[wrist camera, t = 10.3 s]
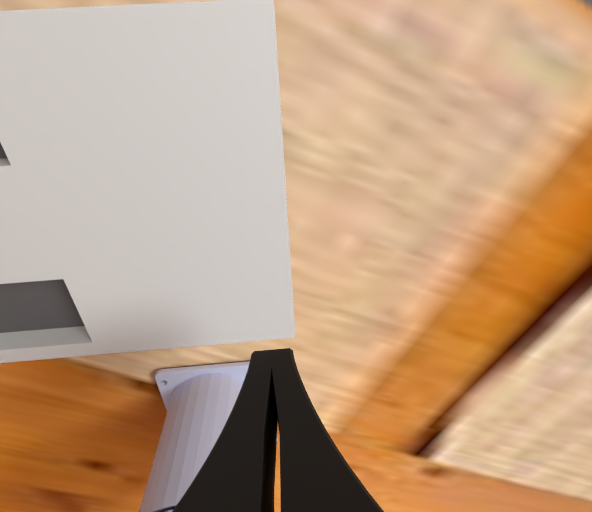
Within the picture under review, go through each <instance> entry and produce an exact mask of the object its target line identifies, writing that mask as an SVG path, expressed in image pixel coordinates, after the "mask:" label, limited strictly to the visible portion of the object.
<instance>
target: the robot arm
mask: <svg viewBox="0 0 592 512" xmlns="http://www.w3.org/2000/svg"><path fill="white" fill-rule="evenodd" d="M155 380H156V383H157V386H158V388H159V391H160V394H161V397H162V399H163V402H164V405H165V408H166V410H167V414H166V418H165V421H164V425H163V428H162V432H161V435H160V439H159V443H158V446H157V450H156V453H155V457H154V460H153V464H152V467H151V471H150V474H149V478H148V481H147V485H146V489H145V492H144V496H143V499H142V503H141V506H140V510H139V512H274V482H275V463H276V444H277V440H278V438H277V424H278V425H279V433H280V478H281V512H384V511H383V510H382V509H381V507H380V506H379V505H378V504H377V502H376V501H375V500H374V499H373V497H372V496H371V495H370V494H369V492H368V491H367V490H366V488H365V487H364V486H363V484H362V483H361V482H360V480H359V479H358V477H357V476H356V475H355V473H354V472H353V471H352V469H351V468H350V467H349V465H348V464H347V462H346V461H345V459H344V458H343V456H342V455H341V453H340V452H339V450H338V449H337V447H336V445H335V444H334V442H333V441H332V439H331V437H330V436H329V434H328V432H327V431H326V429H325V427H324V425H323V424H322V422H321V420H320V418H319V416H318V414H317V413H316V411H315V409H314V407H313V405H312V403H311V401H310V398H309V396H308V394H307V392H306V390H305V388H304V385H303V383H302V380H301V378H300V375H299V372H298V370H297V367H296V363H295V360H294V355H293V350H291V349H290V348H287V349H276V350H264V351H254V352H253V353H252V355H251V360H250V361H248V362H236V363H225V364H214V365H202V366H191V367H180V368H168V369H160V370H158V371H157V372H156V374H155ZM163 380H165V381H163Z"/></svg>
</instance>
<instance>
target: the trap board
mask: <svg viewBox="0 0 592 512" xmlns="http://www.w3.org/2000/svg"><path fill="white" fill-rule="evenodd" d="M286 338H295V322H294V307H293V291H292V276H291V260H290V245H289V229H288V214H287V198H286V183H285V167H284V151H283V136H282V120H281V105H280V89H279V74H278V58H277V43H276V27H275V12H274V0H218V1H197V2H176V3H156V4H135V5H114V6H93V7H72V8H51V9H31V10H10V11H0V363H8V362H19V361H31V360H42V359H54V358H66V357H77V356H89V355H100V354H112V353H124V352H135V351H147V350H158V349H170V348H182V347H193V346H205V345H216V344H228V343H240V342H251V341H263V340H274V339H286Z"/></svg>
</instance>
